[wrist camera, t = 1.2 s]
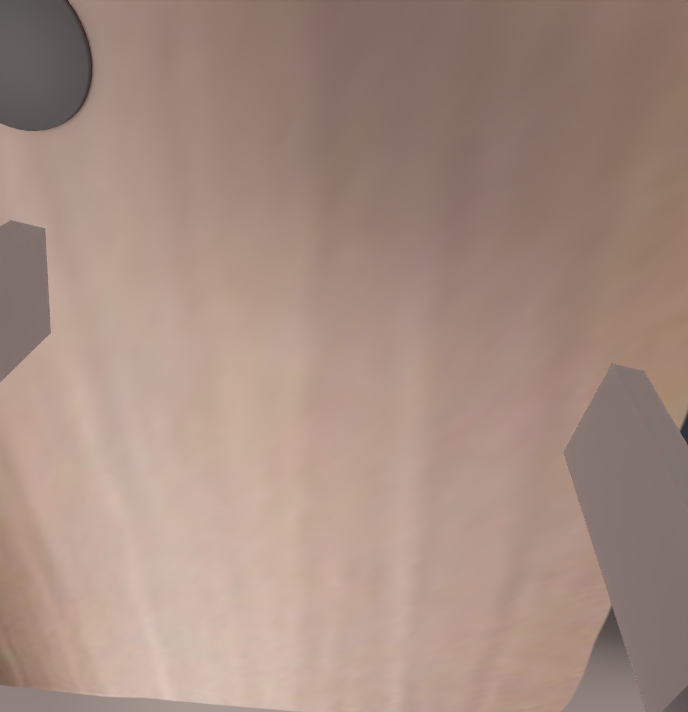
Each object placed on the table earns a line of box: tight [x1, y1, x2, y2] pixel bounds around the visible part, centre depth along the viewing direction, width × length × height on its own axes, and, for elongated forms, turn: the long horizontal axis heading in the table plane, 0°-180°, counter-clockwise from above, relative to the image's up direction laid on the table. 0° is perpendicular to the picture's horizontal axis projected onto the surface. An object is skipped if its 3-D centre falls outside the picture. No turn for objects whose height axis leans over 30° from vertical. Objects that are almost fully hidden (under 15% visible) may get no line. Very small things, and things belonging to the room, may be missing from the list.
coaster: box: [0, 0, 92, 131], centre depth 36 cm, size 9×9×1 cm
